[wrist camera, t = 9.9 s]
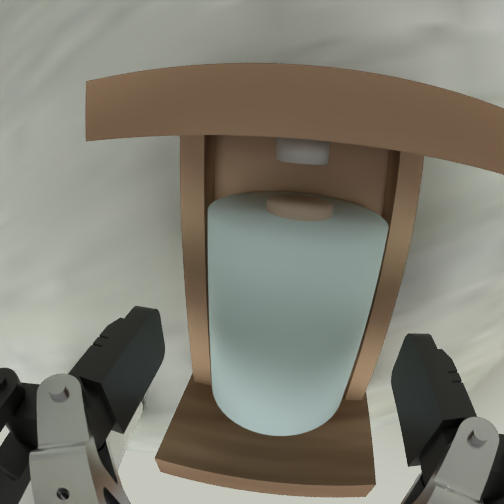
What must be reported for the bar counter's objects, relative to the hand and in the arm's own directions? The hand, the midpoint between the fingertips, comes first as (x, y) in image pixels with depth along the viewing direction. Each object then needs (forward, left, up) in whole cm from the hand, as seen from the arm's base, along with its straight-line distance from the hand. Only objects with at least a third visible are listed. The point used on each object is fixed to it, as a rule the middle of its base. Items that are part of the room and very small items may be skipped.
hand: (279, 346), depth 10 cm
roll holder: (0, 0, -7) cm, 7 cm away
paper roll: (0, 0, -6) cm, 6 cm away
